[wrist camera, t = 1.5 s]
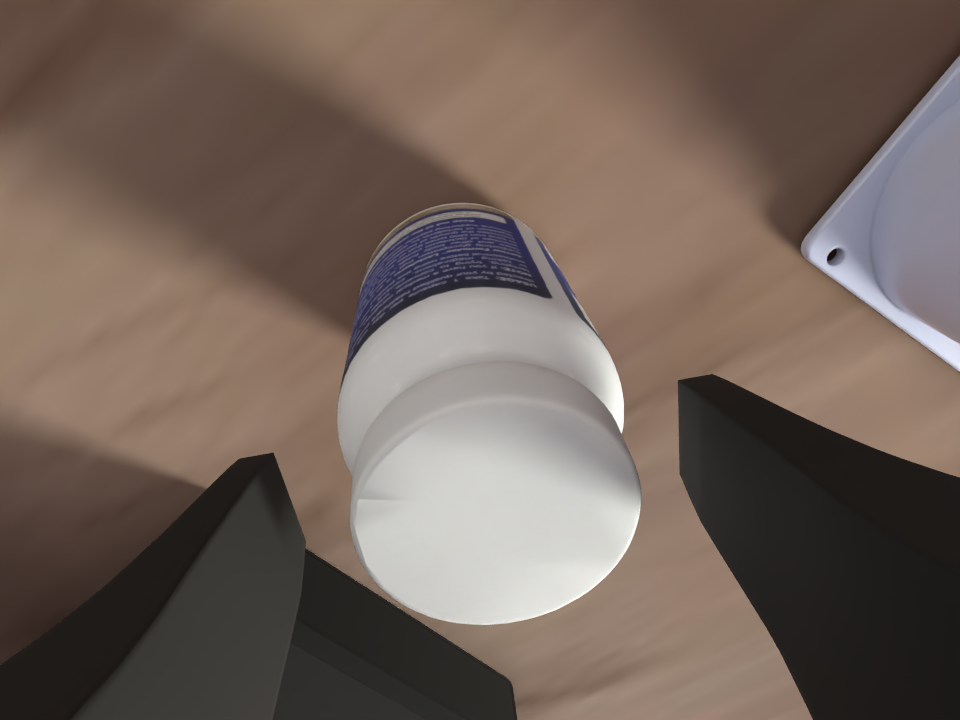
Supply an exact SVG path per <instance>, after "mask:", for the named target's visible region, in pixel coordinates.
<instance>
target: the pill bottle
mask: <svg viewBox="0 0 960 720" xmlns="http://www.w3.org/2000/svg"><path fill="white" fill-rule="evenodd" d="M623 421H624V401H623V393H622V388H621V383H620V380H619V376H618V373H617V371H616V368H615V365H614V363H613V361H612V359H611V357H610V354H609V352H608V351H607V349H606V347H605V345H604V343H603V341H602V340H601V338H600V336H599V335H598V333H597V331H596V330H595V328H594V327H593V325H592V323H591V322H590V320H589V318H588V316H587V315H586V313H585V311H584V310H583V308H582V306H581V305H580V303H579V301H578V300H577V298H576V296H575V294H574V293H573V291H572V289H571V288H570V286H569V284H568V282H567V281H566V279H565V277H564V275H563V274H562V272H561V270H560V268H559V267H558V265H557V263H556V262H555V260H554V258H553V257H552V255H551V253H550V252H549V250H548V249H547V247H546V246H545V245H544V243H543V242H542V241H541V239H540V238H539V237H538V236H537V235H536V234H535V233H534V232H533V231H532V230H531V229H530V228H529V227H528V226H526V225H525V224H524V223H523V222H521V221H520V220H518V219H517V218H515V217H514V216H512V215H510V214H508V213H506V212H504V211H501V210H499V209H496V208H493V207H490V206H486V205H481V204H474V203H451V204H443V205H439V206H434V207H431V208H428V209H426V210H423V211H420V212H418V213H416V214H414V215H413V216H411V217H409V218H407V219H406V220H404V221H403V222H401V223H400V224H399V225H397V226H396V227H395V228H394V229H393V230H392V231H391V232H390V233H389V234H388V235H387V236H386V237H385V238H384V239H383V240H382V241H381V243H380V244H379V245H378V247H377V248H376V250H375V252H374V253H373V255H372V257H371V259H370V261H369V263H368V265H367V268H366V271H365V274H364V277H363V281H362V285H361V290H360V295H359V299H358V305H357V310H356V315H355V320H354V324H353V330H352V335H351V340H350V344H349V350H348V355H347V360H346V364H345V370H344V374H343V379H342V383H341V389H340V395H339V404H338V416H337V426H338V435H339V442H340V447H341V451H342V454H343V457H344V460H345V463H346V465H347V467H348V470H349V472H350V474H351V475H352V477H353V484H352V495H351V507H350V525H351V534H352V539H353V543H354V547H355V550H356V552H357V554H358V557H359V559H360V561H361V563H362V565H363V567H364V568H365V570H366V571H367V573H368V574H369V575H370V577H371V578H372V579H373V581H374V582H375V583H376V584H377V585H378V586H379V587H380V588H381V589H382V590H383V591H384V592H386V593H387V594H388V595H389V596H391V597H392V598H393V599H395V600H396V601H397V602H399V603H401V604H403V605H404V606H406V607H408V608H410V609H412V610H414V611H416V612H419V613H421V614H424V615H426V616H429V617H432V618H435V619H439V620H444V621H448V622H452V623H462V624H475V625H493V624H503V623H511V622H515V621H521V620H526V619H530V618H534V617H537V616H540V615H543V614H546V613H549V612H552V611H554V610H557V609H559V608H561V607H563V606H565V605H567V604H568V603H570V602H572V601H574V600H575V599H577V598H579V597H581V596H582V595H584V594H585V593H587V592H588V591H590V590H591V589H592V588H593V587H595V586H596V585H597V584H598V583H599V582H600V581H602V580H603V579H604V578H605V577H606V576H607V575H608V574H609V573H610V572H611V570H612V569H613V568H614V567H615V566H616V565H617V563H618V562H619V561H620V559H621V558H622V556H623V555H624V553H625V552H626V550H627V549H628V547H629V544H630V542H631V540H632V538H633V535H634V533H635V530H636V526H637V523H638V519H639V514H640V508H641V488H640V482H639V477H638V473H637V470H636V466H635V464H634V462H633V459H632V457H631V455H630V452H629V450H628V448H627V446H626V443H625V441H624V439H623V436H622V430H623Z"/></svg>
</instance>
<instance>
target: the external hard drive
mask: <svg viewBox="0 0 960 720" xmlns="http://www.w3.org/2000/svg"><path fill="white" fill-rule="evenodd" d="M272 720H517V714H516V707H515V700H514V693H513V687H512V684H511V682H510V681H509V680H508V679H507V678H506V677H504V676H502V675H501V674H499V673H498V672H496V671H495V670H493V669H492V668H490V667H488V666H487V665H485V664H484V663H482V662H481V661H479V660H478V659H476V658H474V657H473V656H471V655H470V654H468V653H467V652H465V651H464V650H462V649H460V648H459V647H457V646H456V645H454V644H453V643H451V642H450V641H448V640H446V639H445V638H443V637H442V636H440V635H439V634H437V633H436V632H434V631H433V630H431V629H429V628H428V627H426V626H425V625H423V624H422V623H420V622H419V621H417V620H415V619H414V618H412V617H411V616H409V615H408V614H406V613H405V612H403V611H401V610H400V609H398V608H397V607H395V606H394V605H392V604H391V603H389V602H387V601H386V600H384V599H383V598H381V597H380V596H378V595H377V594H375V593H373V592H372V591H370V590H369V589H367V588H366V587H364V586H363V585H361V584H359V583H358V582H356V581H355V580H353V579H352V578H350V577H349V576H347V575H345V574H344V573H342V572H341V571H339V570H338V569H336V568H335V567H333V566H332V565H330V564H328V563H327V562H325V561H324V560H322V559H321V558H319V557H318V556H316V555H314V554H313V553H311V552H310V551H308V550H307V549H305V558H304V571H303V581H302V590H301V597H300V601H299V606H298V611H297V615H296V620H295V624H294V628H293V633H292V637H291V642H290V646H289V650H288V654H287V659H286V663H285V667H284V672H283V676H282V680H281V684H280V689H279V693H278V697H277V702H276V706H275V710H274V714H273V719H272Z"/></svg>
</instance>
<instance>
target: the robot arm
mask: <svg viewBox="0 0 960 720" xmlns="http://www.w3.org/2000/svg"><path fill="white" fill-rule="evenodd" d="M836 248H837V254H836V255H835V257H834V258H833V259H832V260H830V261H827V256H828V254H829V252H831V251H832V250H833V249H836ZM801 253H802V255H803V257H804V258H805V259H806V260H808V261H809V262H810V263H812V264H813V265H814V266H816V267H817V268H819V269H820V270H821V271H823V272H824V273H825V274H827V275H828V276H829V277H831V278H832V279H833V280H835V281H836V282H838V283H839V284H840V285H842V286H843V287H844V288H846V289H847V290H848V291H850V292H851V293H853V294H854V295H855V296H857V297H858V298H859V299H861V300H862V301H863V302H865V303H866V304H868V305H869V306H870V307H872V308H873V309H874V310H876V311H877V312H878V313H880V314H881V315H882V316H884V317H885V318H887V319H888V320H889V321H891V322H892V323H893V324H895V325H896V326H897V327H899V328H900V329H902V330H903V331H904V332H906V333H907V334H908V335H910V336H911V337H912V338H914V339H915V340H917V341H918V342H919V343H921V344H922V345H923V346H925V347H926V348H927V349H929V350H930V351H931V352H933V353H934V354H936V355H937V356H938V357H940V358H941V359H942V360H944V361H945V362H946V363H948V364H949V365H951V366H952V367H953V368H955V369H956V370H957V371H959V372H960V55H959V56H958V58H957V59H956V60H955V61H954V62H953V64H952V65H951V66H950V67H949V68H948V69H947V71H946V72H945V73H944V74H943V75H942V76H941V78H940V79H939V80H938V81H937V82H936V84H935V85H934V86H933V87H932V88H931V89H930V91H929V92H928V93H927V94H926V95H925V96H924V98H923V99H922V100H921V101H920V102H919V104H918V105H917V106H916V107H915V108H914V109H913V111H912V112H911V113H910V114H909V115H908V116H907V118H906V119H905V120H904V121H903V122H902V123H901V125H900V126H899V127H898V128H897V129H896V131H895V132H894V133H893V134H892V135H891V136H890V138H889V139H888V140H887V141H886V142H885V143H884V145H883V146H882V147H881V148H880V149H879V151H878V152H877V153H876V154H875V155H874V156H873V158H872V159H871V160H870V161H869V162H868V163H867V165H866V166H865V167H864V168H863V169H862V171H861V172H860V173H859V174H858V175H857V176H856V178H855V179H854V180H853V181H852V182H851V183H850V185H849V186H848V187H847V188H846V189H845V191H844V192H843V193H842V194H841V195H840V196H839V198H838V199H837V200H836V201H835V202H834V203H833V205H832V206H831V207H830V208H829V209H828V211H827V212H826V213H825V214H824V215H823V216H822V218H821V219H820V220H819V221H818V222H817V223H816V225H815V226H814V227H813V228H812V229H811V231H810V232H809V233H808V234H807V235H806V237H805V238H804V240H803V241H802V245H801ZM678 406H679V461H680V476H681V478H682V480H683V483H684V485H685V487H686V490H687V492H688V494H689V497H690V499H691V501H692V503H693V506H694V508H695V510H696V512H697V514H698V516H699V519H700V521H701V523H702V524H703V526H704V528H705V529H706V531H707V533H708V534H709V536H710V538H711V539H712V541H713V542H714V544H715V546H716V547H717V549H718V551H719V552H720V554H721V556H722V557H723V559H724V560H725V562H726V564H727V565H728V567H729V568H730V570H731V572H732V573H733V575H734V576H735V578H736V580H737V581H738V583H739V584H740V586H741V588H742V589H743V591H744V592H745V594H746V596H747V597H748V599H749V600H750V602H751V604H752V605H753V607H754V608H755V610H756V612H757V613H758V615H759V617H760V618H761V620H762V621H763V623H764V625H765V626H766V628H767V630H768V631H769V633H770V635H771V637H772V638H773V640H774V642H775V644H776V646H777V647H778V649H779V651H780V653H781V655H782V657H783V659H784V661H785V663H786V665H787V667H788V669H789V671H790V673H791V675H792V677H793V679H794V681H795V683H796V685H797V687H798V689H799V691H800V693H801V695H802V697H803V700H804V702H805V704H806V706H807V708H808V710H809V712H810V714H811V716H812V718H813V720H960V478H959V477H956V476H953V475H949V474H946V473H943V472H940V471H937V470H934V469H931V468H928V467H925V466H922V465H919V464H916V463H913V462H910V461H907V460H904V459H901V458H899V457H896V456H893V455H890V454H888V453H885V452H882V451H880V450H877V449H875V448H872V447H870V446H867V445H865V444H862V443H860V442H858V441H855V440H853V439H850V438H848V437H845V436H843V435H841V434H838V433H836V432H834V431H831V430H829V429H827V428H825V427H822V426H820V425H818V424H816V423H814V422H811V421H809V420H807V419H805V418H803V417H801V416H799V415H797V414H794V413H792V412H790V411H788V410H786V409H784V408H782V407H780V406H778V405H776V404H774V403H772V402H770V401H768V400H766V399H764V398H762V397H760V396H758V395H756V394H754V393H752V392H750V391H748V390H746V389H744V388H742V387H740V386H738V385H736V384H734V383H731V382H729V381H727V380H725V379H723V378H720V377H718V376H716V375H713V374H710V375H705V376H699V377H694V378H688V379H682V380H678ZM305 544H306V540H305V538H304V535H303V532H302V530H301V527H300V524H299V521H298V519H297V516H296V513H295V510H294V508H293V505H292V502H291V499H290V497H289V494H288V491H287V489H286V486H285V483H284V480H283V478H282V475H281V472H280V469H279V467H278V464H277V461H276V458H275V456H274V453H269V454H263V455H258V456H252V457H247V458H241V459H238V460H237V461H236V462H235V463H234V464H233V465H231V466H230V467H229V468H228V469H227V470H226V471H225V472H224V473H223V474H222V475H221V476H220V477H219V478H218V479H217V480H216V481H215V482H214V483H213V484H212V485H211V486H210V487H209V488H208V489H207V490H206V491H205V492H204V493H203V494H202V495H201V496H200V497H199V498H198V499H197V500H196V501H195V502H194V503H193V504H192V505H191V506H190V507H189V508H188V509H187V510H186V511H185V512H184V513H183V514H182V515H181V516H180V517H179V518H178V519H177V520H176V521H175V522H174V523H173V524H172V525H171V526H170V527H169V528H168V529H166V530H165V531H164V532H163V533H162V534H161V535H160V536H159V537H158V538H157V539H156V540H155V541H154V542H153V543H152V544H151V545H150V546H148V547H147V548H146V549H145V550H144V551H143V552H142V553H141V554H140V555H139V556H138V557H136V558H135V559H134V560H133V561H132V562H131V563H130V564H129V565H128V566H127V567H126V568H124V569H123V570H122V571H121V572H120V573H119V574H118V575H117V576H116V577H115V578H114V579H112V580H111V581H110V582H109V583H108V584H107V585H105V586H104V587H103V588H102V589H101V590H100V591H98V592H97V593H96V594H95V595H94V596H92V597H91V598H90V599H89V600H88V601H86V602H85V603H84V604H83V605H81V606H80V607H79V608H78V609H76V610H75V611H74V612H72V613H71V614H70V615H69V616H67V617H66V618H65V619H64V620H62V621H61V622H60V623H58V624H57V625H56V626H55V627H53V628H52V629H51V630H49V631H48V632H47V633H45V634H44V635H43V636H41V637H40V638H39V639H37V640H36V641H34V642H33V643H32V644H30V645H29V646H27V647H26V648H24V649H23V650H21V651H20V652H19V653H17V654H16V655H14V656H13V657H11V658H10V659H9V660H7V661H6V662H4V663H3V664H1V665H0V720H272V719H273V714H274V710H275V706H276V702H277V697H278V693H279V689H280V684H281V680H282V676H283V672H284V667H285V663H286V659H287V654H288V650H289V646H290V642H291V637H292V633H293V628H294V624H295V620H296V615H297V611H298V606H299V601H300V597H301V590H302V581H303V571H304V558H305Z"/></svg>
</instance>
